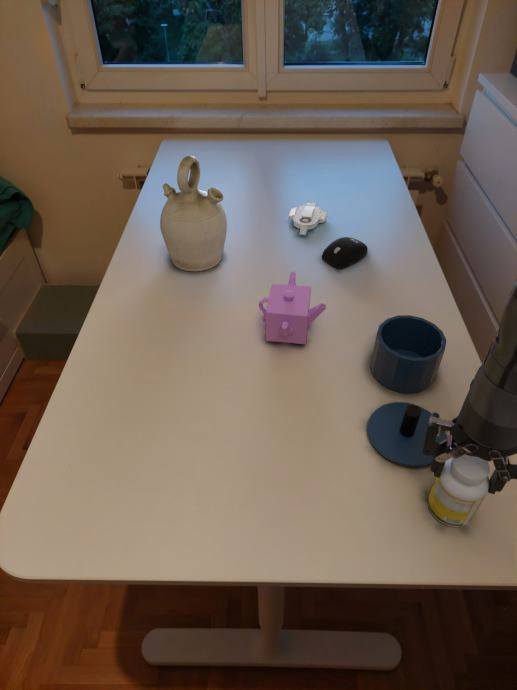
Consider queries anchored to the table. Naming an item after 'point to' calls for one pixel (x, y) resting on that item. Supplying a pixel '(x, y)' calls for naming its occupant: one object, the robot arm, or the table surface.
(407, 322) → the pot
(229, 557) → the table surface
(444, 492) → the pill bottle
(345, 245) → the computer mouse
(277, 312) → the teapot
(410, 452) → the lid
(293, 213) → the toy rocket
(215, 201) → the jug
